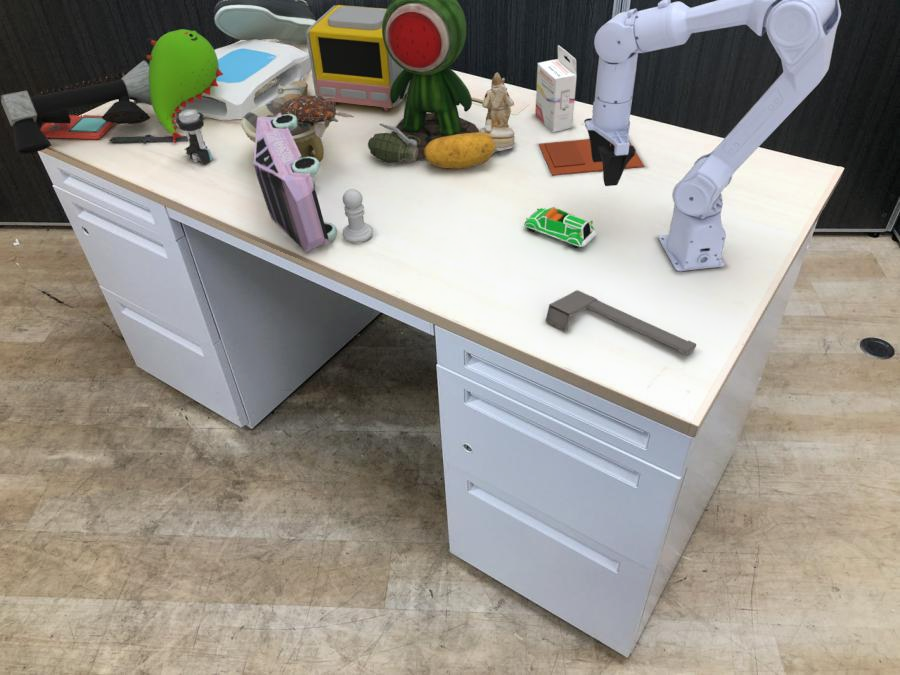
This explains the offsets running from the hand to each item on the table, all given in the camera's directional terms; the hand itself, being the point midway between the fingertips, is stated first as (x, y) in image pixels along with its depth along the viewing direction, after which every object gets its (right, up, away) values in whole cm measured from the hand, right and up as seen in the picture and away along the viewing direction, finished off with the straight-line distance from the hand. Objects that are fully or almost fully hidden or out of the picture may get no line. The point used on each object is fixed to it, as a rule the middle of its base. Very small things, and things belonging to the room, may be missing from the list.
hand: (604, 172), depth 128 cm
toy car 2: (-7, -10, +4) cm, 13 cm away
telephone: (-91, +26, +40) cm, 103 cm away
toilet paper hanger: (-1, -28, -15) cm, 32 cm away
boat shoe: (-69, +47, +57) cm, 101 cm away
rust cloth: (+2, +8, +23) cm, 25 cm away
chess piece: (-42, -10, +6) cm, 43 cm away
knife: (-88, +13, +32) cm, 95 cm away
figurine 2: (-16, +11, +27) cm, 33 cm away
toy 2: (-46, +11, +18) cm, 50 cm away
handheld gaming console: (-115, +19, +39) cm, 122 cm away
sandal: (-62, +24, +44) cm, 80 cm away
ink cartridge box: (-4, +18, +34) cm, 38 cm away
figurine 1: (-29, +14, +30) cm, 44 cm away
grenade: (-42, +12, +23) cm, 49 cm away
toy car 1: (-49, +1, +6) cm, 49 cm away
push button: (-77, +8, +27) cm, 82 cm away
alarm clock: (-44, +27, +46) cm, 69 cm away
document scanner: (-74, +29, +49) cm, 93 cm away
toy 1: (-89, +26, +31) cm, 98 cm away
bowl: (-57, +8, +26) cm, 63 cm away
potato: (-23, +6, +22) cm, 33 cm away
